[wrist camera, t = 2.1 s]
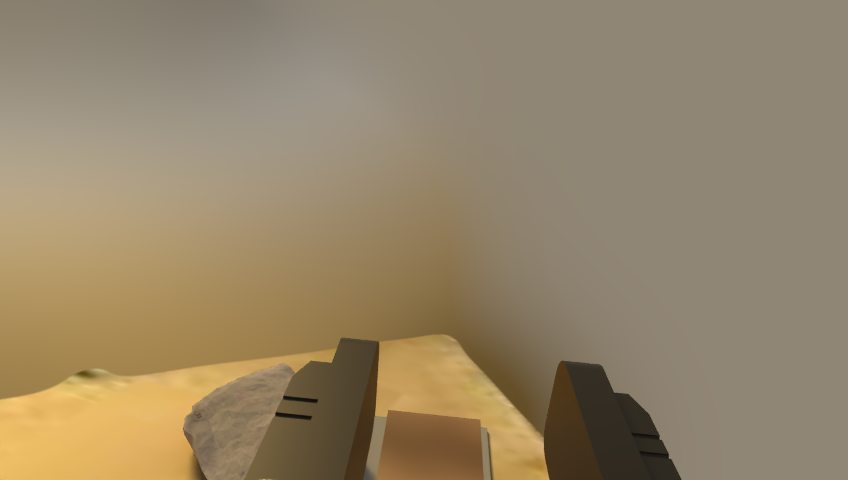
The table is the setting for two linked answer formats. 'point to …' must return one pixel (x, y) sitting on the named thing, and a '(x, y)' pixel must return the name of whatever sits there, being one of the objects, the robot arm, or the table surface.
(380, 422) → the felt pad
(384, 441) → the walnut block
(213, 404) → the stone block
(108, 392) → the table surface
